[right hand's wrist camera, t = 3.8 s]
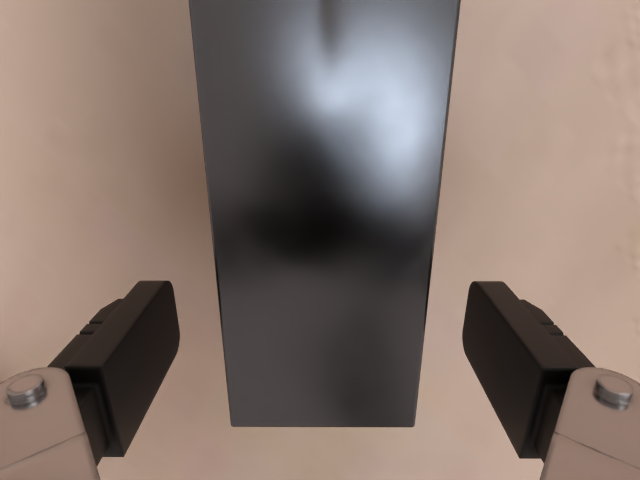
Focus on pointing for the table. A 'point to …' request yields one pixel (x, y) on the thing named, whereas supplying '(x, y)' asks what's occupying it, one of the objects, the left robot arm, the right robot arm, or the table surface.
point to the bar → (323, 199)
